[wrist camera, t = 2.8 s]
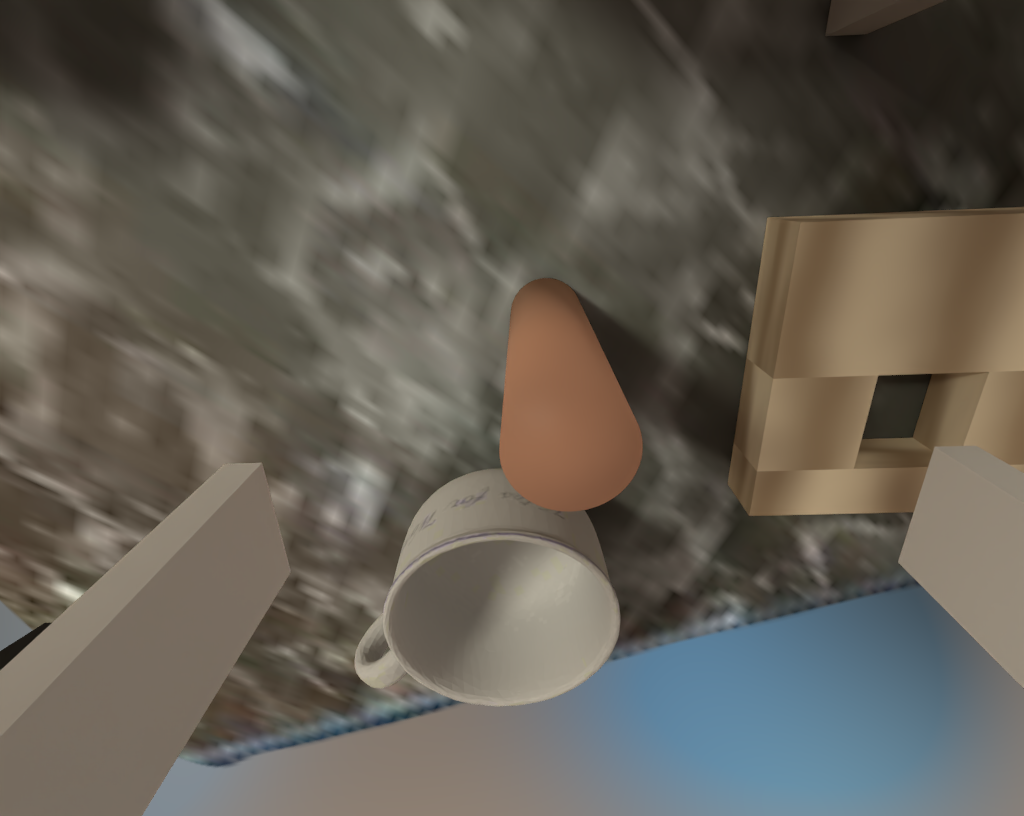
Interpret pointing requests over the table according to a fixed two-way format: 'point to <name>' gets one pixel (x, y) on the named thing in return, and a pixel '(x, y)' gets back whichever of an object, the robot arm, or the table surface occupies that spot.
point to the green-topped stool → (870, 14)
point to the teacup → (494, 599)
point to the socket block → (878, 355)
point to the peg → (563, 406)
